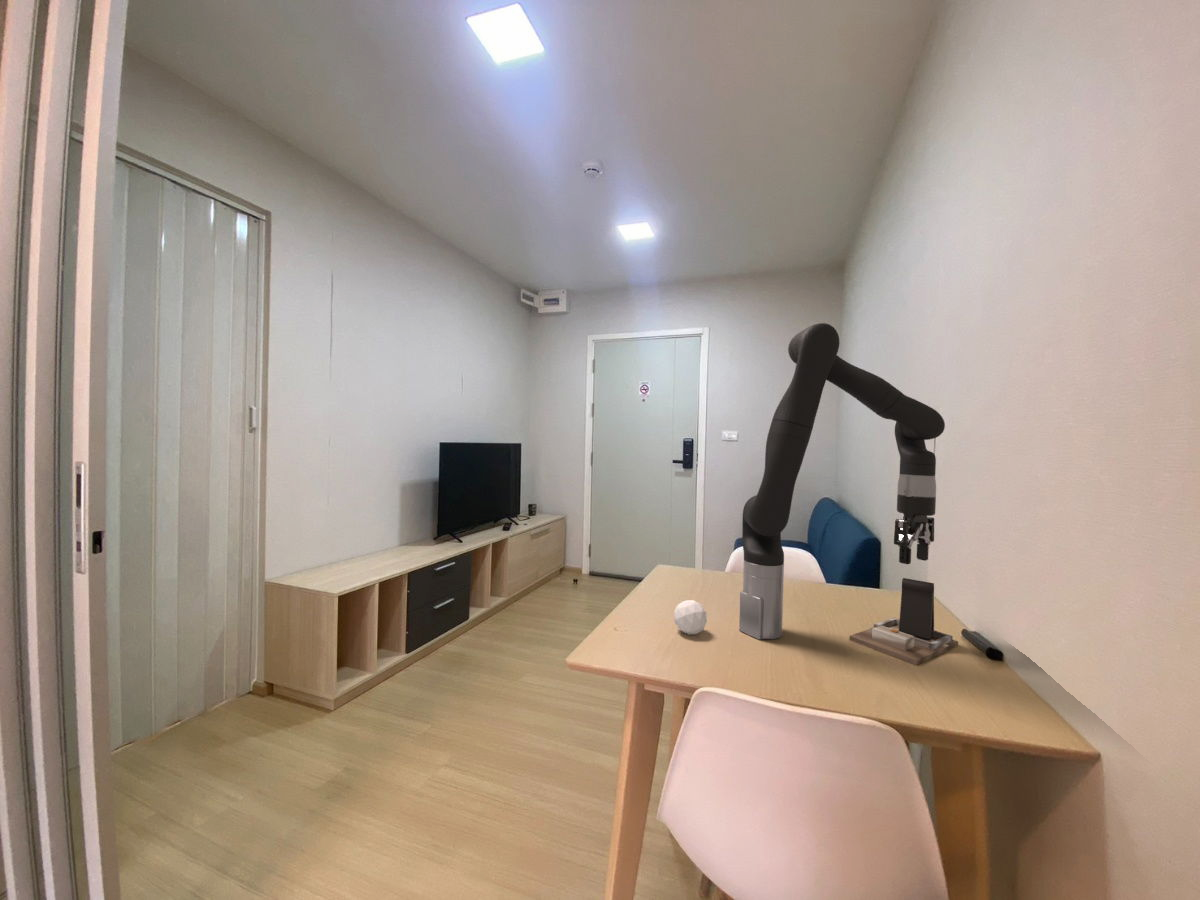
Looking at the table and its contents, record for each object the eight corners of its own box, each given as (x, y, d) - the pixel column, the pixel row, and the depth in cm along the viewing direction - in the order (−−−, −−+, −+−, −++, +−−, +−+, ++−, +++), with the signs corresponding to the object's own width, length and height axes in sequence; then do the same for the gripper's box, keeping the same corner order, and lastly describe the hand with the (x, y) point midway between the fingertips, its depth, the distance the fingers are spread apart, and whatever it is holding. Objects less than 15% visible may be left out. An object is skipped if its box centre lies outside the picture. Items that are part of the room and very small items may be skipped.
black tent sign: (930, 640, 100) (931, 587, 100) (898, 633, 104) (899, 582, 104) (934, 629, 107) (935, 579, 107) (904, 622, 111) (905, 574, 111)
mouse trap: (916, 665, 93) (916, 647, 93) (849, 639, 105) (849, 624, 105) (958, 645, 103) (958, 629, 103) (893, 624, 115) (893, 610, 115)
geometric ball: (690, 647, 105) (681, 627, 101) (672, 624, 112) (664, 604, 108) (716, 630, 106) (709, 609, 102) (697, 607, 113) (690, 587, 109)
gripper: (913, 491, 113) (910, 555, 113) (883, 493, 106) (881, 561, 106) (948, 495, 107) (945, 562, 107) (919, 496, 99) (916, 568, 99)
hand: (913, 561), depth 106 cm, fingers open, 8 cm apart
